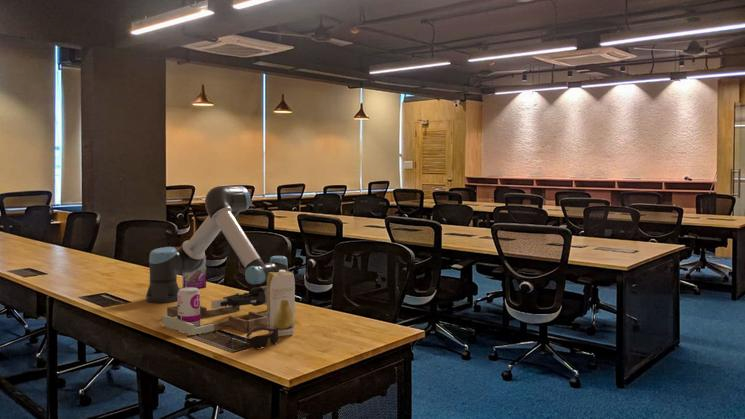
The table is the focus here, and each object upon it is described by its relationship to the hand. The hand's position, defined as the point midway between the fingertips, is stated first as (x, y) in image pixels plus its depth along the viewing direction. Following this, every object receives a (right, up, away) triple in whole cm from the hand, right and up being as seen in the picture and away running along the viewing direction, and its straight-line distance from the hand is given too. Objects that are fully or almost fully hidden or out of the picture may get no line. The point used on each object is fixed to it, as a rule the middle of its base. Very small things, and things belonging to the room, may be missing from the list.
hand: (212, 304), depth 236 cm
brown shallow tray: (+4, -7, +5) cm, 10 cm away
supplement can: (-7, -8, -7) cm, 13 cm away
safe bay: (-7, -8, -8) cm, 13 cm away
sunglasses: (+21, -10, -24) cm, 34 cm away
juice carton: (+29, -9, -13) cm, 33 cm away
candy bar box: (-27, -2, +68) cm, 73 cm away
